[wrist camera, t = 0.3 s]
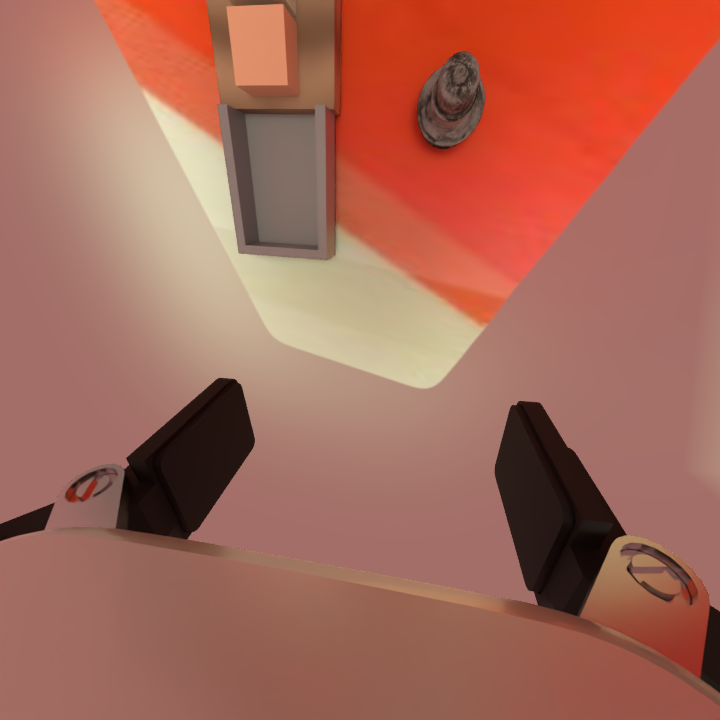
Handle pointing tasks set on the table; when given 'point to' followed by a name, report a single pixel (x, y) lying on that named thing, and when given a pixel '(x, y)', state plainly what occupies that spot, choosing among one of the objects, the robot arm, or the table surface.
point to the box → (281, 181)
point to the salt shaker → (451, 102)
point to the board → (315, 60)
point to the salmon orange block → (264, 49)
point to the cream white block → (289, 3)
